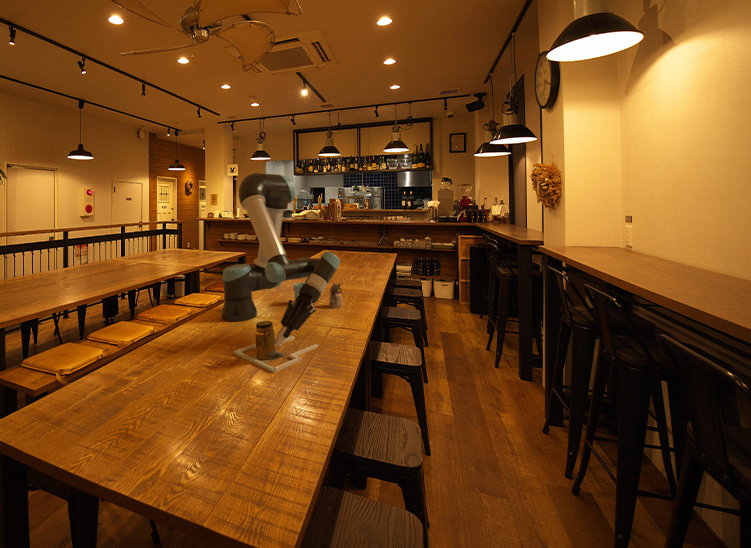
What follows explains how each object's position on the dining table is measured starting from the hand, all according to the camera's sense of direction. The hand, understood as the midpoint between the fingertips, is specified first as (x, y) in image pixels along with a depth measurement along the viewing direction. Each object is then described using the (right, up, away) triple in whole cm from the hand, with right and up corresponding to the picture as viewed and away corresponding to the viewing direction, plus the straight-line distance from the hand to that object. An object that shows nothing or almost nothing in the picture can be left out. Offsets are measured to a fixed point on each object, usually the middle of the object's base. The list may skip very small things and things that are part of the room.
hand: (277, 344), depth 120 cm
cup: (-5, +9, +62) cm, 63 cm away
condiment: (-2, -4, -2) cm, 5 cm away
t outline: (0, -3, +1) cm, 3 cm away
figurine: (+14, +8, +58) cm, 60 cm away
